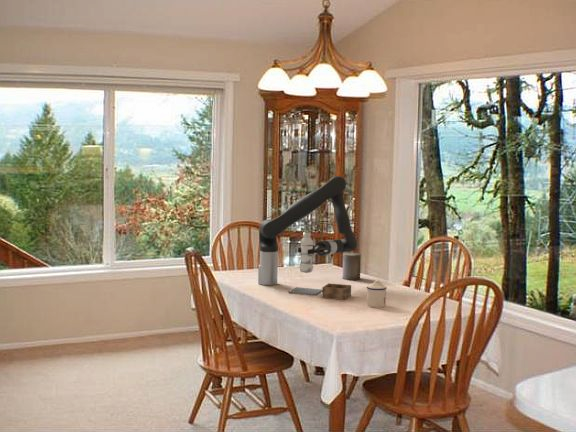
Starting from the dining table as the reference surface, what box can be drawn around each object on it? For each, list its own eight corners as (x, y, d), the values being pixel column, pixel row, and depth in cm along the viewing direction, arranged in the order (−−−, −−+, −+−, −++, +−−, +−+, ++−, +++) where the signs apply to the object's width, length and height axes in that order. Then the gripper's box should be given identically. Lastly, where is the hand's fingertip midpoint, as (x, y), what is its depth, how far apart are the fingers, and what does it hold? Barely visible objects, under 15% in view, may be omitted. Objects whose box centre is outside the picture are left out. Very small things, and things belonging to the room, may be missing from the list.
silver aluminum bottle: (304, 270, 356) (304, 231, 353) (315, 272, 352) (316, 232, 350) (296, 272, 350) (297, 232, 348) (308, 274, 347) (309, 233, 344)
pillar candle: (363, 278, 390) (363, 251, 389) (355, 280, 382) (355, 253, 380) (347, 276, 395) (348, 249, 394) (339, 279, 387) (339, 251, 386)
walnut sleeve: (322, 297, 340) (322, 287, 339) (328, 293, 350) (328, 283, 349) (345, 299, 336) (345, 289, 336) (350, 295, 346) (351, 285, 345)
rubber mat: (288, 292, 349) (288, 291, 349) (296, 288, 360) (296, 287, 360) (315, 295, 344) (315, 294, 344) (322, 290, 356) (322, 289, 355)
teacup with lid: (388, 307, 322) (389, 282, 320) (369, 308, 320) (370, 282, 319) (380, 301, 333) (381, 277, 332) (361, 302, 332) (362, 277, 330)
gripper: (315, 238, 365) (292, 241, 353) (337, 242, 354) (314, 245, 343) (315, 253, 365) (292, 256, 354) (336, 256, 355) (313, 260, 343)
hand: (303, 251), depth 348 cm, fingers closed on silver aluminum bottle, 6 cm apart
